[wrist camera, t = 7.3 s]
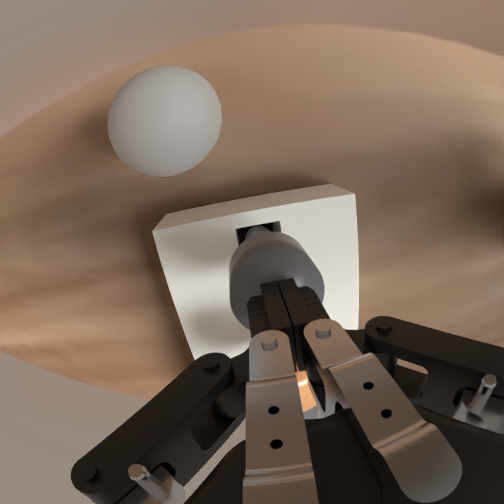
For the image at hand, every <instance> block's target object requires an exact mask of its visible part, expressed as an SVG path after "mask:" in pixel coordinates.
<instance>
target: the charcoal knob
mask: <svg viewBox="0 0 504 504" xmlns="http://www.w3.org/2000/svg"><path fill="white" fill-rule="evenodd" d="M288 278H294V280H295V282H296V284H297V286H298V287H303V286H308V287H310V288H311V289H313V290H314V291H315V292H316V294H317V296H318V298H319V299H320V301H321V303H322V302H323V299H324V293H325V287H324V281H323V278H322V275H321V273H320V271H319V270H318V268H317V267H316V265H315V264H314V263H313V261H312V260H311V258H310V257H309V256H308V254H307V253H306V251H305V250H304V248H303V247H302V246H301V244H300V243H299V242H298V241H296V240H295V239H294V238H292V237H291V236H289V235H286V234H284V233H280V232H271V231H270V230H269V229H268V228H266V227H264V226H254V227H252V228H251V229H249V230H248V232H247V233H246V236H245V241H243V242H242V243H241V244H240V245H239V246H238V247H237V249H236V250H235V252H234V253H233V255H232V258H231V261H230V265H229V290H230V305H231V309H232V312H233V314H234V316H235V317H236V319H237V320H238V321H239V322H240V323H241V324H242V325H243V326H244V327H245V328H247V329H249V330H250V325H249V317H248V310H247V302H248V301H249V299H250V297H253V296H259V295H262V293H261V287H260V284H263V283H268V282H273V281H276V282H277V281H278V280H283V279H288Z"/></svg>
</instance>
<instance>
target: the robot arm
mask: <svg viewBox="0 0 504 504" xmlns="http://www.w3.org/2000/svg"><path fill="white" fill-rule="evenodd" d="M260 287H261V293H262V295H259V296H253V297H250V299H249V301H248V302H247V310H248V317H249V325H250V332H251V340H250V343H249V347H248V349H247V350H246V351H244V352H243V353H241V354H240V355H237V356H235V357H233V358H229V357H228V356H227V355H226V354H223V353H218V352H213V353H207V354H204V355H202V356H200V357H199V358H197V359H196V360H195V361H194V362H193V363H192V364H191V365H190V366H188V367H187V368H186V369H185V370H184V371H183V372H182V373H181V374H180V375H178V376H177V377H176V378H175V379H174V380H173V381H172V382H171V383H170V384H168V385H167V386H166V387H165V388H164V389H163V390H162V391H160V392H159V393H158V394H157V395H156V396H155V397H154V398H153V399H151V400H150V401H149V402H148V403H147V404H146V405H145V406H143V407H142V408H141V409H140V410H139V411H137V412H136V413H135V414H134V415H133V416H132V417H131V418H129V419H128V420H127V421H126V422H125V423H124V424H122V425H121V426H120V427H119V428H117V429H116V430H115V431H114V432H113V433H111V434H110V435H109V436H108V437H107V438H105V439H104V440H103V441H102V442H101V443H99V444H98V445H97V446H96V447H94V448H93V449H92V450H91V451H89V452H88V453H87V454H86V455H85V456H83V457H82V458H81V459H79V460H78V461H77V462H76V463H75V464H74V466H73V468H72V471H71V480H72V483H73V485H74V486H75V488H76V489H77V490H79V491H80V492H81V493H83V494H84V495H86V496H87V497H89V498H90V499H91V500H92V501H93V502H94V503H96V504H183V503H184V501H185V495H186V494H185V490H184V488H183V487H184V486H185V485H186V484H187V483H188V482H189V481H190V480H191V478H192V477H193V476H194V475H195V474H196V473H197V472H198V471H199V470H200V469H201V468H202V467H203V466H204V465H205V463H207V461H208V460H209V459H210V458H211V457H212V456H213V455H214V454H215V453H216V452H217V450H218V449H219V448H220V447H221V446H222V445H223V444H224V442H225V441H226V440H227V439H228V438H229V437H230V435H231V434H232V433H233V432H234V431H235V430H236V428H237V427H238V426H239V425H240V424H241V422H242V421H243V420H244V419H245V417H246V439H245V440H244V441H242V442H240V443H239V444H237V445H236V446H235V447H233V448H232V449H231V450H230V451H229V452H228V453H227V454H226V455H225V456H224V457H223V458H222V460H221V461H220V462H219V463H218V465H217V466H216V467H215V468H214V469H213V471H212V472H211V473H210V474H209V475H208V477H207V478H206V479H205V480H204V481H203V482H202V484H201V485H200V486H199V487H198V488H197V489H196V490H195V492H194V493H193V494H192V495H191V496H190V497H189V498H188V500H186V502H185V503H184V504H504V348H503V347H499V346H495V345H491V344H488V343H484V342H480V341H476V340H472V339H469V338H465V337H461V336H457V335H454V334H450V333H446V332H443V331H439V330H436V329H432V328H428V327H425V326H421V325H418V324H414V323H411V322H407V321H404V320H400V319H397V318H393V317H389V316H379V317H375V318H372V319H371V320H369V321H368V322H367V323H366V326H365V329H360V330H348V329H344V328H343V327H342V326H341V325H340V323H338V322H337V321H335V320H331V319H330V317H329V315H328V313H327V312H326V310H325V308H324V306H323V305H322V303H321V301H320V299H319V298H318V296H317V294H316V292H315V291H314V290H313V289H311V288H310V287H308V286H303V287H298V286H297V284H296V282H295V280H294V278H288V279H283V280H278V281H277V282H276V281H273V282H268V283H263V284H260ZM398 359H401V360H404V361H407V362H410V363H413V364H416V365H420V366H422V367H424V368H425V369H426V370H427V371H428V374H424V373H421V372H418V371H415V370H412V369H409V368H406V367H403V366H400V365H397V360H398ZM297 367H298V370H299V372H300V371H305V370H306V373H307V378H308V386H309V388H310V391H311V393H312V395H313V397H314V400H315V402H316V404H317V406H318V409H319V411H320V413H321V415H322V418H321V419H304V415H303V409H302V404H301V398H300V392H299V387H298V381H297V376H296V375H295V373H296V372H297Z"/></svg>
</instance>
